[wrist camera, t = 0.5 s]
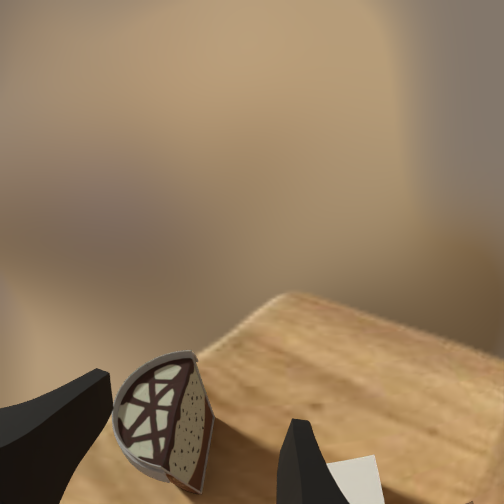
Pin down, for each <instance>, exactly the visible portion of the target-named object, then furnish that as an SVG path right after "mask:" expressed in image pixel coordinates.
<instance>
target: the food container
mask: <svg viewBox="0 0 504 504" xmlns="http://www.w3.org/2000/svg"><path fill="white" fill-rule="evenodd" d="M196 362H198V359H197V357H196V355H195V354H194V353H193V352H192V350H184V351H177V352H172V353H168V354H164V355H162V356H159V357H157V358H154V359H152V360H150V361H148V362H147V363H145V364H144V365H142V366H141V367H139V368H138V369H137V370H135V371H134V372H133V373H132V374H131V375H130V376H129V377H128V378H127V379H126V380H125V381H124V383H123V385H122V386H121V387H120V389H119V391H118V393H117V395H116V397H115V400H114V403H113V406H114V409H113V411H112V424H113V430H114V435H115V437H116V440H117V442H118V444H119V446H120V448H121V450H122V452H123V453H124V455H125V456H126V458H127V459H128V460H129V462H130V463H131V464H132V465H133V466H134V467H136V468H137V469H138V470H139V471H141V472H142V473H144V474H146V475H147V476H149V477H152V478H154V479H156V480H159V481H163V482H167V483H170V482H172V483H173V484H175V485H177V486H178V487H180V488H182V489H184V490H186V491H189V492H191V493H195V494H201V495H202V490H203V484H204V478H205V472H206V466H207V460H208V454H209V449H210V443H211V437H212V431H213V425H214V419H215V416H214V413H213V410H212V407H211V405H210V402H209V399H208V396H207V393H206V391H205V388H204V385H203V382H202V379H201V376H200V373H199V370H198V367H197V364H196Z"/></svg>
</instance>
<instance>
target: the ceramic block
mask: <svg viewBox="0 0 504 504" xmlns="http://www.w3.org/2000/svg"><path fill="white" fill-rule="evenodd" d="M327 467H328V469H329V471H330V472H331V474H332V476H333V478H334V480H335V482H336V483H337V485H338V487H339V488H340V490H341V492H342V493H343V495H344V496H345V497H346V499H347V500H348V502H349V503H350V504H385V503H384V498H383V493H382V488H381V483H380V478H379V473H378V469H377V464H376V460H375V455H370V456H365V457H361V458H356V459H351V460H345V461H340V462H334V463H327Z"/></svg>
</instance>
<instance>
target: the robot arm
mask: <svg viewBox="0 0 504 504" xmlns="http://www.w3.org/2000/svg"><path fill="white" fill-rule="evenodd" d="M113 409H114V406H113V399H112V391H111V383H110V374H109V373H108V372H106V371H103V370H100V369H97V368H96V369H94V370H92V371H90V372H88V373H86V374H85V375H83V376H81V377H79V378H77V379H75V380H73V381H71V382H69V383H67V384H65V385H64V386H61V387H59V388H58V389H55V390H53V391H51V392H49V393H46V394H44V395H42V396H40V397H37V398H35V399H33V400H30V401H27V402H24V403H21V404H17V405H13V406H9V407H5V408H0V504H59V503H60V500H61V498H62V496H63V494H64V491H65V489H66V487H67V485H68V483H69V481H70V479H71V477H72V475H73V473H74V471H75V469H76V468H77V466H78V464H79V463H80V461H81V460H82V459H83V457H84V456H85V454H86V453H87V451H88V450H89V449H90V447H91V446H92V444H93V443H94V442H95V440H96V439H97V437H98V436H99V434H100V433H101V431H102V430H103V428H104V427H105V425H106V423H107V421H108V419H109V417H110V415H111V413H112V411H113ZM277 504H350V503H349V502H348V500H347V499H346V497H345V496H344V495H343V493H342V492H341V490H340V488H339V487H338V485H337V483H336V482H335V480H334V478H333V476H332V474H331V472H330V471H329V469H328V467H327V464H326V462H325V460H324V458H323V456H322V454H321V451H320V449H319V446H318V444H317V441H316V439H315V436H314V433H313V430H312V427H311V424H310V422H309V421H307V420H300V419H292V421H291V423H290V426H289V429H288V432H287V434H286V437H285V440H284V443H283V445H282V448H281V450H280V457H279V463H278V471H277Z"/></svg>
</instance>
